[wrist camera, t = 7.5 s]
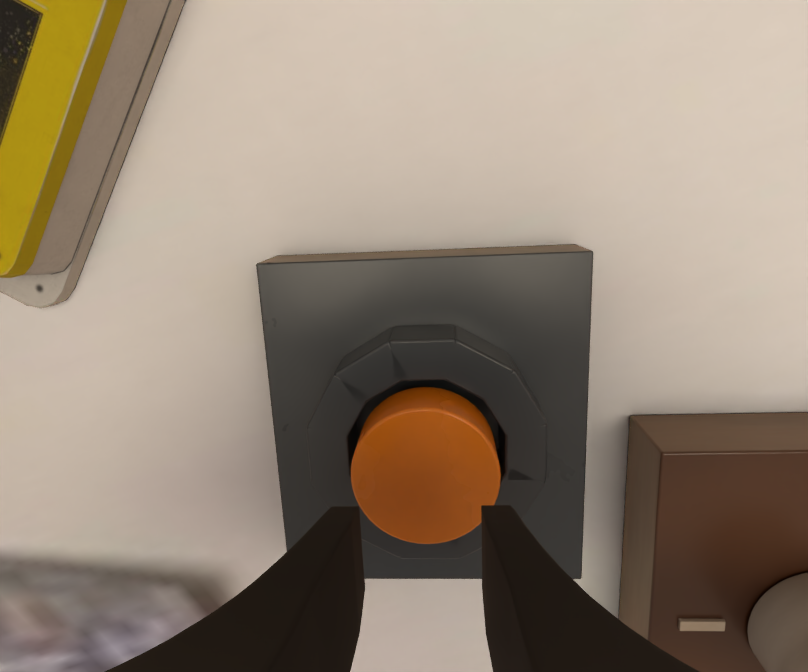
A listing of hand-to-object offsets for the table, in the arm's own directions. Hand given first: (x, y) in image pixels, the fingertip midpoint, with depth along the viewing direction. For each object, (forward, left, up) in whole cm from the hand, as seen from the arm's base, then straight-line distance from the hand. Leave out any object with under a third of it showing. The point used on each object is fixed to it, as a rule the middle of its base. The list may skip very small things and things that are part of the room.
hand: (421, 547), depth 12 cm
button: (0, 0, -5) cm, 5 cm away
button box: (0, 0, -8) cm, 8 cm away
